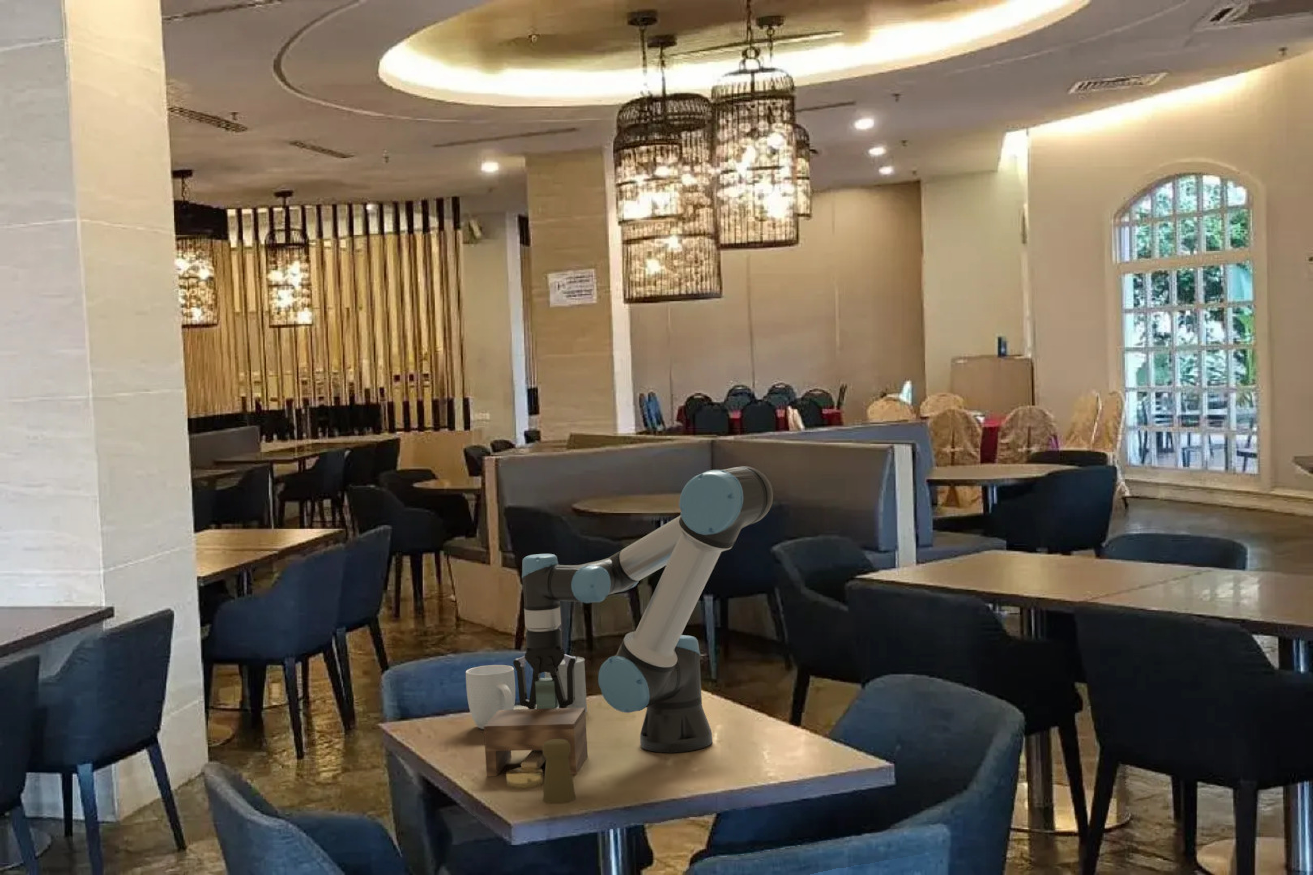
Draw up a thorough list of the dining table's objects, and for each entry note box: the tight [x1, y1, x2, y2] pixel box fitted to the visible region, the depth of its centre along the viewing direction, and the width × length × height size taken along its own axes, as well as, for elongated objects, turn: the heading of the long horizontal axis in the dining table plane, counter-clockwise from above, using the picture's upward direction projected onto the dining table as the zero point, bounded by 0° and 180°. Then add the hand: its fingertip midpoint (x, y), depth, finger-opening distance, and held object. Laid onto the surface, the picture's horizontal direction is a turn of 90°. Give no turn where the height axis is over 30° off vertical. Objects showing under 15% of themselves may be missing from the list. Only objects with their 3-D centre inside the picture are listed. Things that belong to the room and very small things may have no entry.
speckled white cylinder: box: [544, 656, 588, 714], centre depth 339 cm, size 10×10×12 cm
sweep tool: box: [520, 677, 559, 769], centre depth 295 cm, size 24×4×14 cm, turn 174°
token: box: [505, 767, 544, 790], centre depth 280 cm, size 7×7×2 cm
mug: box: [465, 664, 516, 730], centre depth 327 cm, size 15×11×13 cm
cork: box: [542, 739, 576, 805], centre depth 268 cm, size 6×6×11 cm
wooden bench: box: [483, 708, 589, 777], centre depth 292 cm, size 18×14×10 cm
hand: (549, 737), depth 305 cm, fingers closed on sweep tool, 4 cm apart
